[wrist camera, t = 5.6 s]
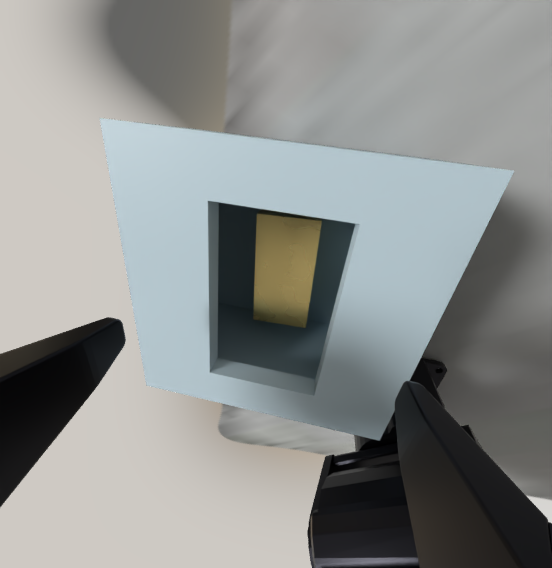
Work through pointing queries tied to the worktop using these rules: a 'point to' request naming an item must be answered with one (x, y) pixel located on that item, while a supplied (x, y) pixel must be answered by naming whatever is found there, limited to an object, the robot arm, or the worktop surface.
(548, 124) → the worktop surface
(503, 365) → the worktop surface
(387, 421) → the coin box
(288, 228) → the tall tan wooden block
